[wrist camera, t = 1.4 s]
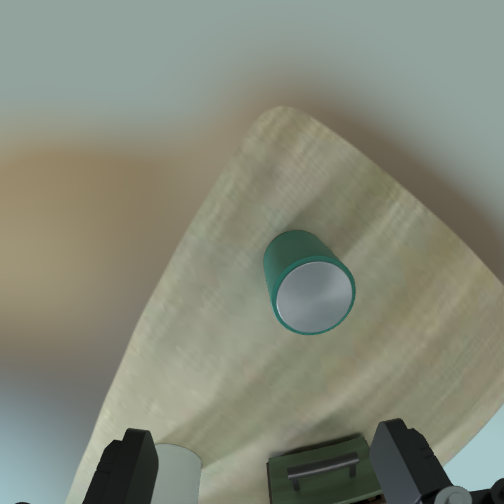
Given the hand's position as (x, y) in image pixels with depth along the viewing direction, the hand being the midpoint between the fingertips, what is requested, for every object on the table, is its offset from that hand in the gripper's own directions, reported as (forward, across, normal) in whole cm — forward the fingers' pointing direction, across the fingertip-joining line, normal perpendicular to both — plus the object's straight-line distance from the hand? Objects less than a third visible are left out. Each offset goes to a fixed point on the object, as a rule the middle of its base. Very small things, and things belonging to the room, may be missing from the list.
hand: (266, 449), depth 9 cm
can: (+17, -4, -2) cm, 17 cm away
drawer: (+16, -8, +25) cm, 31 cm away
